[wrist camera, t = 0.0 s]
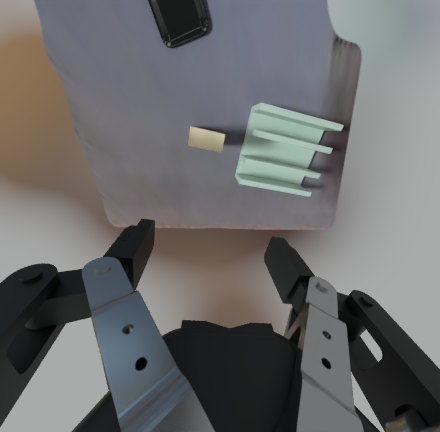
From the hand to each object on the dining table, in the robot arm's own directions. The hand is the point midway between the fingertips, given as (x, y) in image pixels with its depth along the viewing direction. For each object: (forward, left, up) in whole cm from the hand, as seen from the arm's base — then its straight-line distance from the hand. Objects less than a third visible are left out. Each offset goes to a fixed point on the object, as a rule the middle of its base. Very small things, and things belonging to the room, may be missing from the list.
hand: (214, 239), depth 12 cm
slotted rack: (-5, +15, -29) cm, 33 cm away
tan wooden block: (-5, -1, -29) cm, 30 cm away
